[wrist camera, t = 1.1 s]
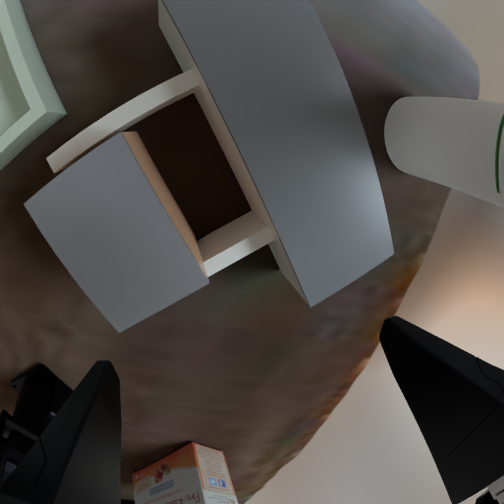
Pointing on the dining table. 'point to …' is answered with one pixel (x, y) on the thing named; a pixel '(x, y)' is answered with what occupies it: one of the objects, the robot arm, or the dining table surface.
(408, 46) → the dining table surface
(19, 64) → the tray
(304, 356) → the dining table surface
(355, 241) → the grey forked piece
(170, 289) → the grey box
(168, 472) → the cracker box
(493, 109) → the cylindrical container
